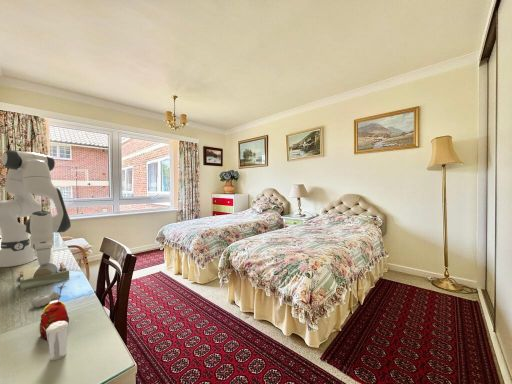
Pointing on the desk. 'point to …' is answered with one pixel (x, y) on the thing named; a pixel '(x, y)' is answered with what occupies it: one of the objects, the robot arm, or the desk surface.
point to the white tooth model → (57, 339)
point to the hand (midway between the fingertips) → (43, 269)
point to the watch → (51, 303)
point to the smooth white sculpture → (44, 299)
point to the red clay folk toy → (53, 315)
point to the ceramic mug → (45, 270)
